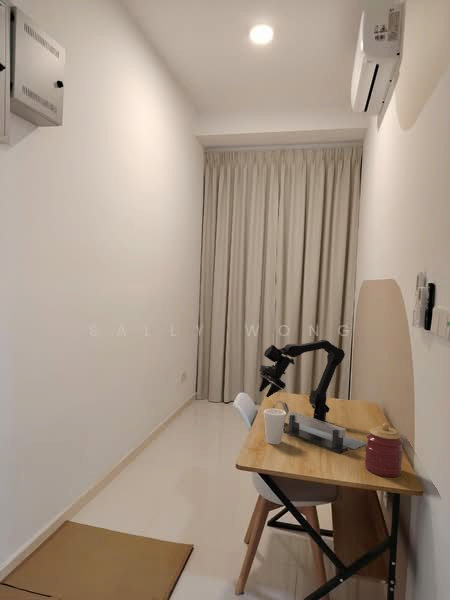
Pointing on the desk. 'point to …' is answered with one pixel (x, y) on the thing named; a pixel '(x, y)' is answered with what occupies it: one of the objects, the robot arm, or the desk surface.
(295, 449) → the desk surface
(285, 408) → the watch
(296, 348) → the robot arm
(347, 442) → the mat
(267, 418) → the foam cup
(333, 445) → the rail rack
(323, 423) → the rail
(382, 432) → the canister
